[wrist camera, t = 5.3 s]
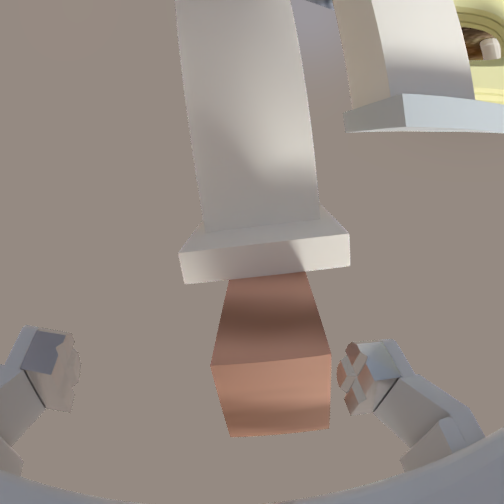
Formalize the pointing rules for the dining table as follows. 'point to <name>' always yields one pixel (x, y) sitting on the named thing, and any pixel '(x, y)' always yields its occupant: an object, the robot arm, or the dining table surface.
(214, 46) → the stand
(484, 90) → the slatted curved stool
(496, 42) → the jar
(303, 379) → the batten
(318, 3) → the dining table surface
